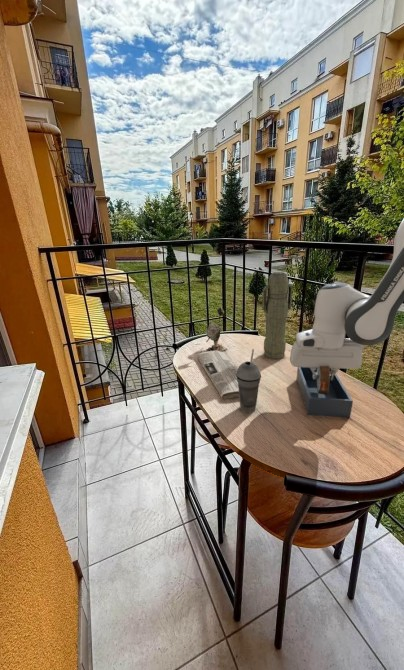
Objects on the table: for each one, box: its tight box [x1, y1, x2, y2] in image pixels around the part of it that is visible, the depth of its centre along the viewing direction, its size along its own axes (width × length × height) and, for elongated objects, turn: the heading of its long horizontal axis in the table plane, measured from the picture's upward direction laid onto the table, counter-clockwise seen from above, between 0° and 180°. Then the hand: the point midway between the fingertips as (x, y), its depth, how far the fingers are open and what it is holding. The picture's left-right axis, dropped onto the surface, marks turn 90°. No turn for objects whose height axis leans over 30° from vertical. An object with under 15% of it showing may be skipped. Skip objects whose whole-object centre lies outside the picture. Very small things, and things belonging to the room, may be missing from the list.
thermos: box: [261, 271, 294, 361], centre depth 115 cm, size 9×12×35 cm
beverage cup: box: [236, 348, 262, 414], centre depth 82 cm, size 7×7×20 cm
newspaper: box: [196, 350, 239, 400], centre depth 106 cm, size 35×12×4 cm, turn 15°
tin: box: [317, 366, 330, 395], centre depth 87 cm, size 15×3×8 cm, turn 161°
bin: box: [296, 367, 354, 418], centre depth 89 cm, size 12×21×6 cm, turn 171°
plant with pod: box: [205, 306, 228, 352], centre depth 126 cm, size 8×11×20 cm
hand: (322, 379), depth 88 cm, fingers closed on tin, 3 cm apart
